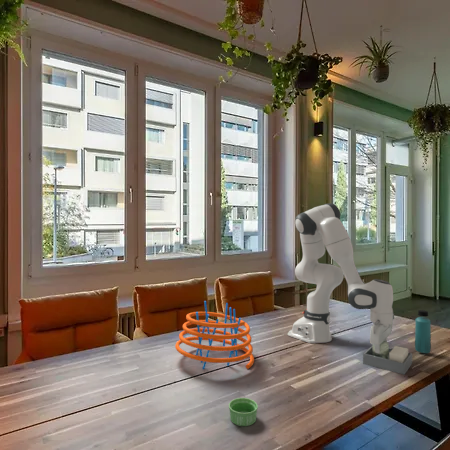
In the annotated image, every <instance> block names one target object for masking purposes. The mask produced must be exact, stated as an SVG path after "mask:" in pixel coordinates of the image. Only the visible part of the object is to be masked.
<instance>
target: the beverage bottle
mask: <svg viewBox="0 0 450 450" xmlns="http://www.w3.org/2000/svg"><path fill="white" fill-rule="evenodd" d="M417 315H418V317H416V318H415V319H414V321H415V327H414V328H415V329H414V338H415V339H414V349H415V351H416V352H419V353H421V354H431V351H432V342H431V340H432V332H431V331H432V329H431V327H432V323H431V320H430V319H429V318H428V317H429V312H428V311H427V310H425V309H419V310H418V311H417Z"/></svg>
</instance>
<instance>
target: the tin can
mask: <svg viewBox="0 0 450 450" xmlns="http://www.w3.org/2000/svg"><path fill="white" fill-rule="evenodd" d="M389 344H390V343H389V342H388V340H387V341H383V342H382V343H381V344H380V353H379V354H378V353H375V347H374V345H372V344H371V346H372V356H376V357H380V358H384V359H388V360H389V348H390V345H389Z"/></svg>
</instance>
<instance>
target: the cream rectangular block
mask: <svg viewBox="0 0 450 450" xmlns="http://www.w3.org/2000/svg"><path fill="white" fill-rule="evenodd" d="M391 349H392V350H391V352H390V353H389V360H392V361H397V362H401V363H404V362H405V360H406V359H407V358H408V353H409V348H407V347H401V346H397V345H395V346H394V347H393V348H391Z"/></svg>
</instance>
